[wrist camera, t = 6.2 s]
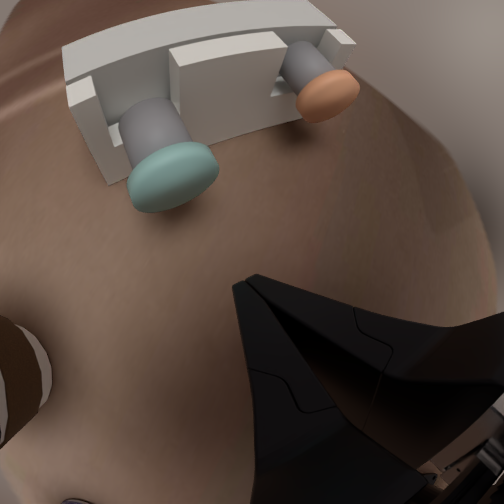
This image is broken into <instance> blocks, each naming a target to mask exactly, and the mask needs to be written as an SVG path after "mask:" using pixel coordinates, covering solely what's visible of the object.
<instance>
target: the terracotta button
mask: <svg viewBox="0 0 504 504" xmlns="http://www.w3.org/2000/svg"><path fill="white" fill-rule="evenodd" d="M279 74H280V75H281V76H282V78H283V79H284V80H285V81H286V83H287V84H288V85H289V86H290V88H291V89H292V90H293V91H294V93H295V94H296V95H297V99H296V103H295V106H296V109H297V110H298V112H299V113H300V114H301V116H302V117H303V118H304V120H305V121H307V122H309V123H318V122H322V121H325V120H328V119H330V118H332V117H334V116H336V115H338V114H339V113H341V112H342V111H344V110H345V109H346V108H347V107H348V106H349V105H350V104H351V103H352V102H353V101H354V100H355V99H356V97H357V96H358V93H359V91H360V86H359V83H358V82H357V81H356V80H355V79H354V77H353V76H352V75H351V74H350V73H349V72H348V71H346V70H336V69H335V68H334V67H333V66H332V64H331V63H330V62H329V61H328V60H327V59H326V58H325V57H324V56H323V55H322V54H321V53H320V52H319V51H318V50H317V49H316V47H315V46H314V45H313V44H311V43H310V42H307V41H299V42H295V43H292V44H290V45H288V49H287V51H286V54H285V57H284V60H283V62H282V65H281V68H280V71H279Z"/></svg>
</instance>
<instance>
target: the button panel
mask: <svg viewBox="0 0 504 504" xmlns="http://www.w3.org/2000/svg"><path fill="white" fill-rule="evenodd" d="M336 28H337V25H336V24H334V23H333V22H332V21H331V20H330V19H329V18H328V17H326V16H325V15H324V14H323V13H322V12H321V11H319V10H318V9H317V8H316V7H314V6H313V5H312V4H311V3H310V2H308V1H307V0H252V1H239V2H228V3H219V4H211V5H204V6H198V7H192V8H186V9H181V10H176V11H171V12H166V13H162V14H158V15H153V16H149V17H146V18H142V19H138V20H135V21H131V22H128V23H125V24H121V25H118V26H115V27H112V28H109V29H106V30H103V31H101V32H98V33H95V34H93V35H90V36H87V37H85V38H82V39H80V40H77V41H75V42H73V43H70V44H68V45H66V46H64V47H62V56H63V66H64V75H65V82H66V85H67V86H66V91H67V97H68V104H69V108H70V111H71V113H72V115H73V117H74V119H75V121H76V123H77V126H78V128H79V130H80V132H81V134H82V136H83V138H84V140H85V142H86V144H87V146H88V148H89V150H90V152H91V154H92V156H93V158H94V160H95V162H96V164H97V165H98V167H99V169H100V171H101V173H102V175H103V177H104V179H105V180H106V182H107V184H108V186H109V185H111V184H114V183H116V182H118V181H120V180H122V179H125V178H127V177H129V175H130V174H131V172H132V171H133V170H132V167H131V165H130V162H129V159H128V156H127V154H126V151H125V148H124V145H123V142H122V139H121V136H120V133H119V130H118V125H119V121H120V119H121V117H122V116H123V114H124V113H125V112H126V111H127V110H128V109H129V108H130V107H132V106H133V105H135V104H136V103H138V102H140V101H142V100H145V99H149V98H155V97H160V98H166V99H168V100H170V101H172V102H173V104H174V105H175V107H176V109H177V111H178V113H179V115H180V117H181V119H182V121H183V123H184V125H185V127H186V129H187V131H188V132H189V134H190V136H191V138H192V140H193V142H199V143H202V144H205V145H206V146H209V145H212V144H215V143H218V142H221V141H224V140H227V139H230V138H234V137H237V136H240V135H243V134H246V133H250V132H253V131H257V130H260V129H263V128H267V127H271V126H274V125H278V124H282V123H285V122H289V121H293V120H297V119H301V118H303V117H302V116H301V114H300V113H299V112H298V110H297V109H296V106H295V103H296V99H297V95H296V94H295V93H294V91H293V90H292V89H291V88H290V86H289V85H288V84H287V83H286V81H285V80H284V79H283V78H282V76H281V75H280V74H279V71H280V68H281V65H282V62H283V60H284V57H285V54H286V51H287V49H288V45H290V44H292V43H295V42H299V41H307V42H310V43H311V44H313V45H314V46H315V47H316V49H317V50H318V51H319V52H320V53H321V54H322V55H323V56H324V57H325V58H326V59H327V60H328V61H329V62H330V63H331V64H332V66H333V67H334V68H335V69H336V70H342V68H343V67H344V65H345V63H346V62H347V60H348V58H349V56H350V55H351V53H352V51H353V49H354V48H355V46H356V43H355V42H354V41H353V40H352V39H351V38H349V36H348V35H347V34H345V33H344V32H343V31H342V30H341V29H336Z"/></svg>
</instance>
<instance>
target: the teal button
mask: <svg viewBox="0 0 504 504" xmlns="http://www.w3.org/2000/svg"><path fill="white" fill-rule="evenodd" d="M118 130H119V133H120V136H121V139H122V142H123V145H124V148H125V151H126V154H127V156H128V159H129V162H130V165H131V167H132V170H133V171H132V172H131V174H130V175H129V177H128V180H127V189H128V192H129V195H130V198H131V200H132V203H133V206H134V207H135V208H136V209H137V210H138V211H141V212H145V213H155V212H161V211H165V210H169V209H172V208H175V207H177V206H180V205H182V204H184V203H186V202H188V201H190V200H192V199H193V198H195V197H197V196H198V195H200V194H201V193H202V192H204V191H205V190H206V189H207V188H208V187H209V186H210V185H211V184H212V183H213V182H214V181H215V179H216V178H217V176H218V174H219V165H218V163H217V161H216V159H215V158H214V156H213V154H212V152H211V150H210V148H209V147H208V146H206V145H205V144H202V143H199V142H193V140H192V138H191V136H190V134H189V132H188V131H187V129H186V127H185V125H184V123H183V121H182V119H181V117H180V115H179V113H178V111H177V109H176V107H175V105H174V104H173V102H172V101H170V100H168V99H166V98H160V97H155V98H149V99H145V100H142V101H140V102H138V103H136V104H135V105H133V106H132V107H130V108H129V109H128V110H127V111H126V112H125V113H124V114H123V116H122V117H121V119H120V121H119V125H118Z"/></svg>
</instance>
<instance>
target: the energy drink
mask: <svg viewBox="0 0 504 504" xmlns="http://www.w3.org/2000/svg"><path fill="white" fill-rule="evenodd" d="M61 504H89V503H87V502H84V501H79V500H66V501H63V502H62V503H61Z"/></svg>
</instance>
